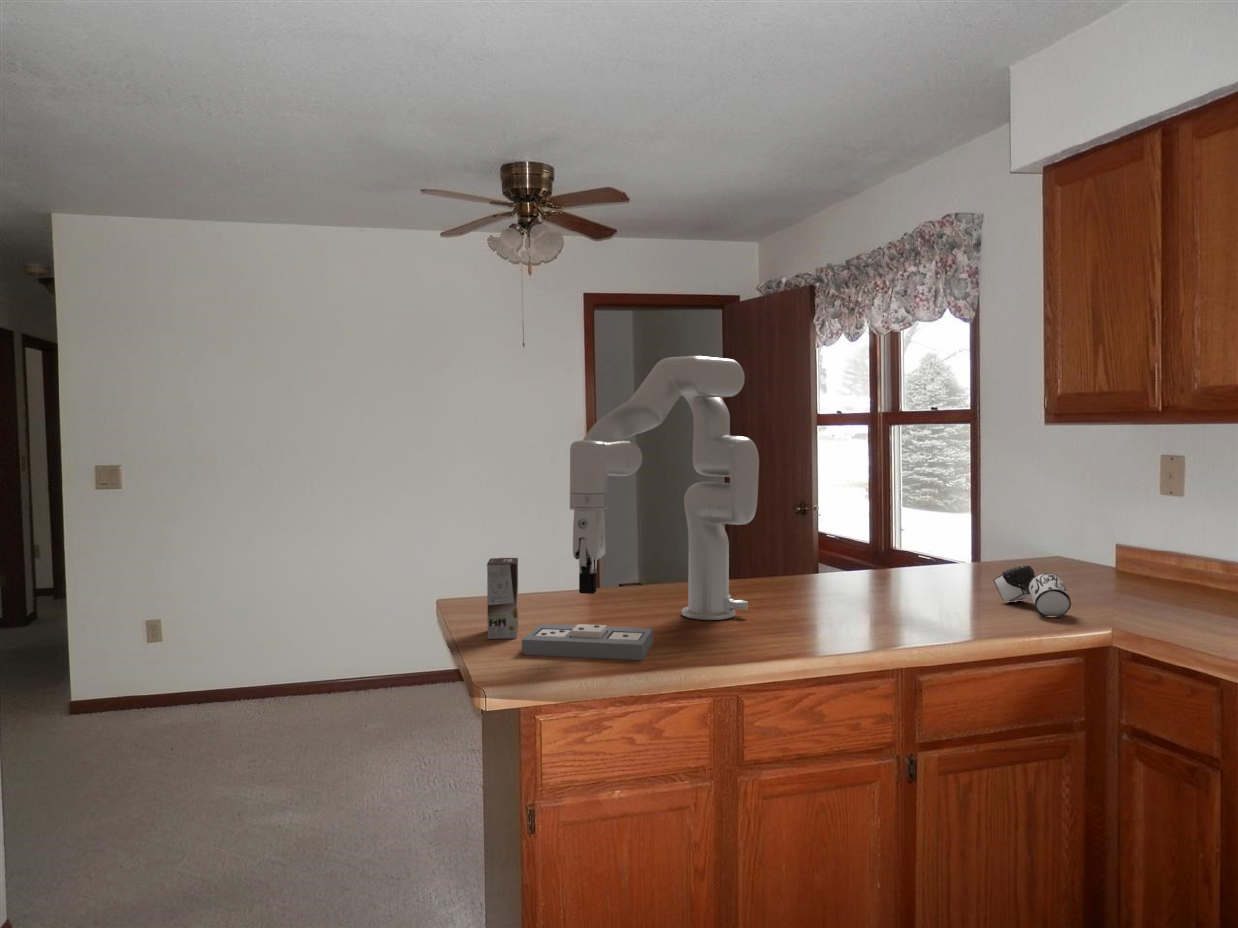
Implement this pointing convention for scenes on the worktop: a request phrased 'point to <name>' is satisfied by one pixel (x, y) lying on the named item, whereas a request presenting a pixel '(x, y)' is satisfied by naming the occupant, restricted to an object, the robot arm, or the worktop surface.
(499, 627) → the coffee box
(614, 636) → the tile one
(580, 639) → the board
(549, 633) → the tile three
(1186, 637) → the worktop surface
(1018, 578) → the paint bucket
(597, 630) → the tile two
